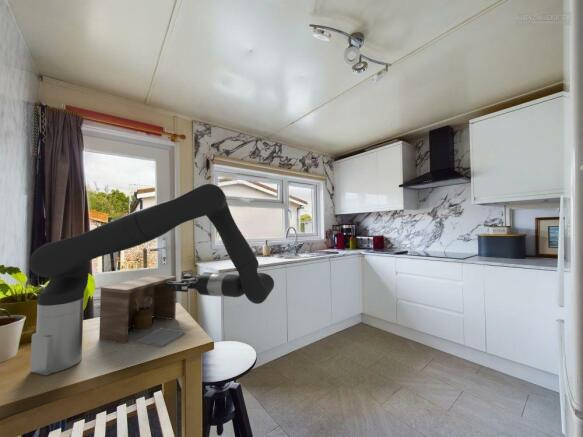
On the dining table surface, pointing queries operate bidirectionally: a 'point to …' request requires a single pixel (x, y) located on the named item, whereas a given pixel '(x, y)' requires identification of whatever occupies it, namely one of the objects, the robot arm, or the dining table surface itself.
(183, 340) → the dining table surface
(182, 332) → the grey mat
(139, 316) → the utensil holder
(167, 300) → the open box
